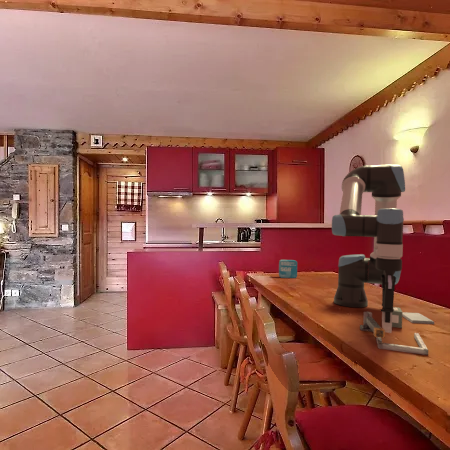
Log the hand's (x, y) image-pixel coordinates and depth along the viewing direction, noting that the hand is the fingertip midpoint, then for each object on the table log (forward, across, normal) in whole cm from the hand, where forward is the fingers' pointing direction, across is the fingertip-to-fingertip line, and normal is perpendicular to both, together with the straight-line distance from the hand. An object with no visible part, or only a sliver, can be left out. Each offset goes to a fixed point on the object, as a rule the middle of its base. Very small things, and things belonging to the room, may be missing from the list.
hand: (386, 331), depth 108 cm
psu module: (+4, -25, +4) cm, 26 cm away
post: (+4, -14, -5) cm, 16 cm away
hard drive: (+5, -37, +14) cm, 40 cm away
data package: (+5, -116, -52) cm, 128 cm away
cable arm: (+1, -5, -3) cm, 6 cm away
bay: (+4, -3, +4) cm, 7 cm away
